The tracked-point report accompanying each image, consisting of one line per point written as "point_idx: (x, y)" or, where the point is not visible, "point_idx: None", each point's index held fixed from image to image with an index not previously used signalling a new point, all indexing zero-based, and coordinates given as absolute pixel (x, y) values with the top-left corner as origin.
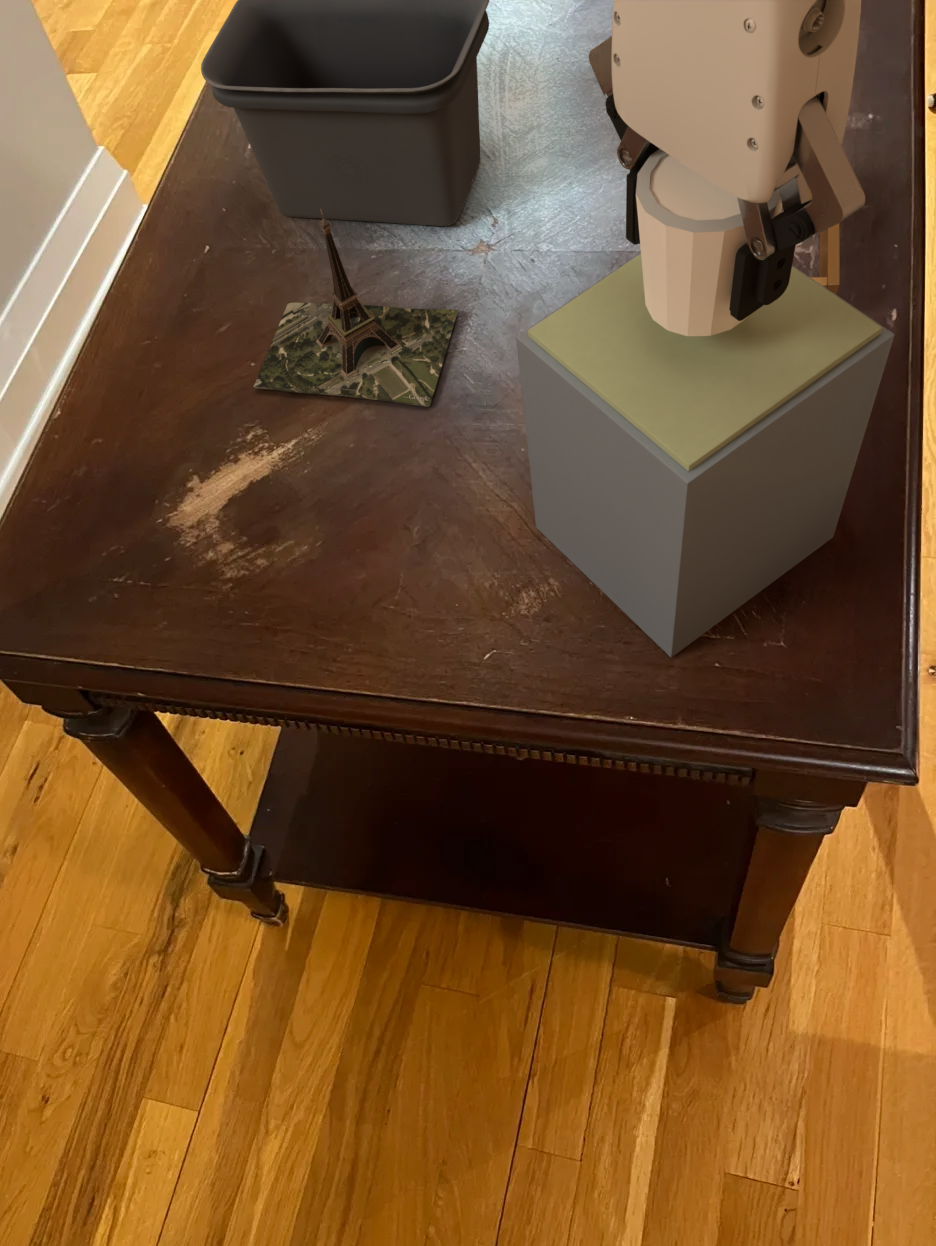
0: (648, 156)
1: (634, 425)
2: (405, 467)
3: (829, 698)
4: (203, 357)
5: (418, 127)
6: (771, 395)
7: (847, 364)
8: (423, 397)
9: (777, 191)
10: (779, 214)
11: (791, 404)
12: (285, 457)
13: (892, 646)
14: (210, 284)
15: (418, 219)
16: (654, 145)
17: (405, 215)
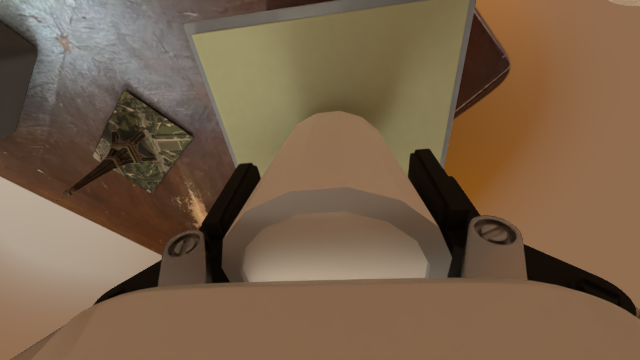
0: (229, 281)
1: None
2: (225, 161)
3: (464, 75)
4: (123, 198)
5: None
6: (435, 142)
7: (462, 57)
8: (186, 137)
9: (434, 244)
10: (462, 253)
11: (448, 128)
12: (197, 196)
13: (472, 22)
14: (70, 179)
15: (29, 70)
16: (217, 279)
17: (25, 77)
